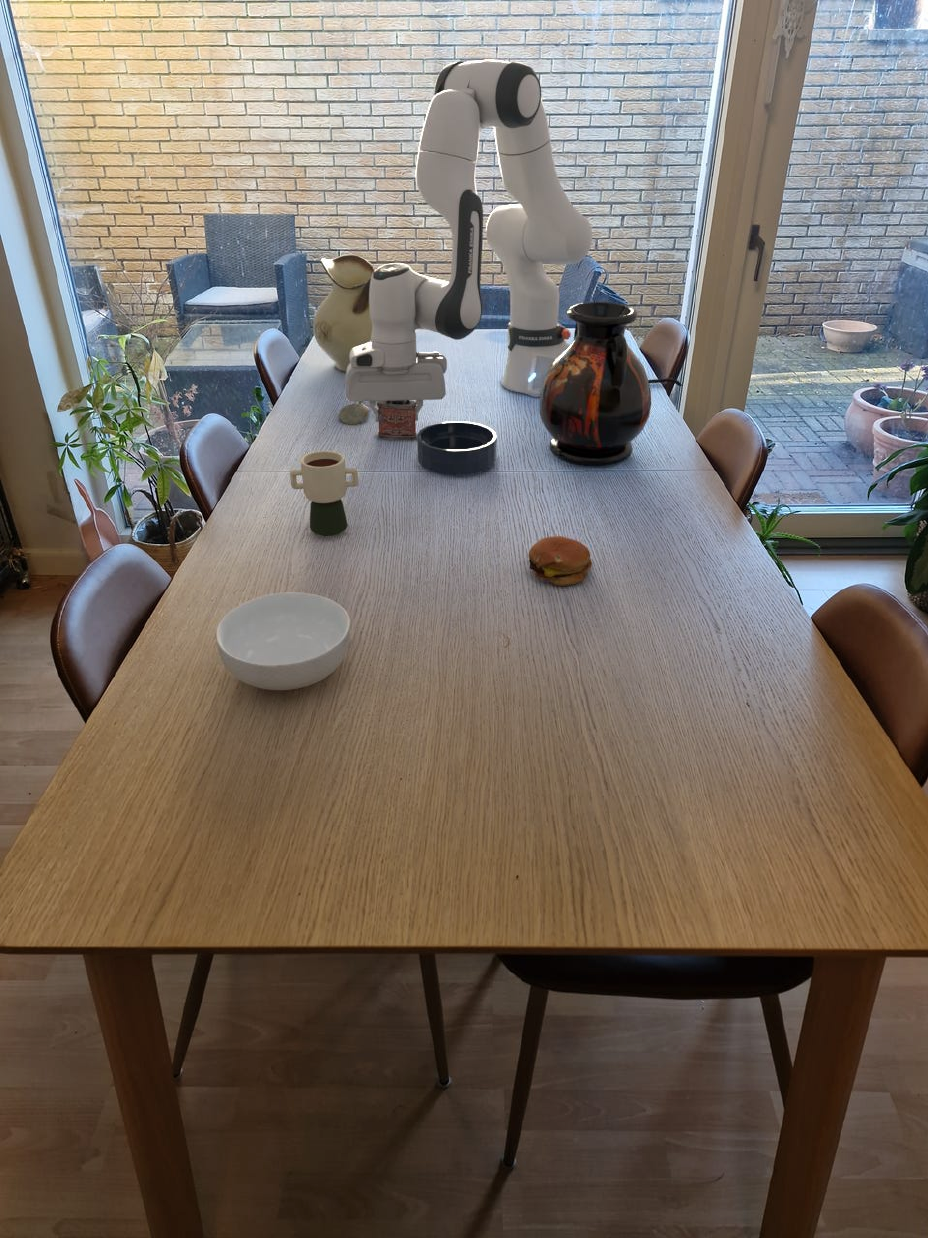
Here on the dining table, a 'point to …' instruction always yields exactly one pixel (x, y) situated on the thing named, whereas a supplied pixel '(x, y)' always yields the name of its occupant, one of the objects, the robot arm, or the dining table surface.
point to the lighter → (397, 420)
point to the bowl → (456, 448)
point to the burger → (560, 560)
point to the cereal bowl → (284, 640)
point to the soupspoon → (354, 413)
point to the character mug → (325, 490)
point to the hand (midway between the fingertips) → (396, 420)
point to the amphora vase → (596, 389)
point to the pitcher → (344, 309)
